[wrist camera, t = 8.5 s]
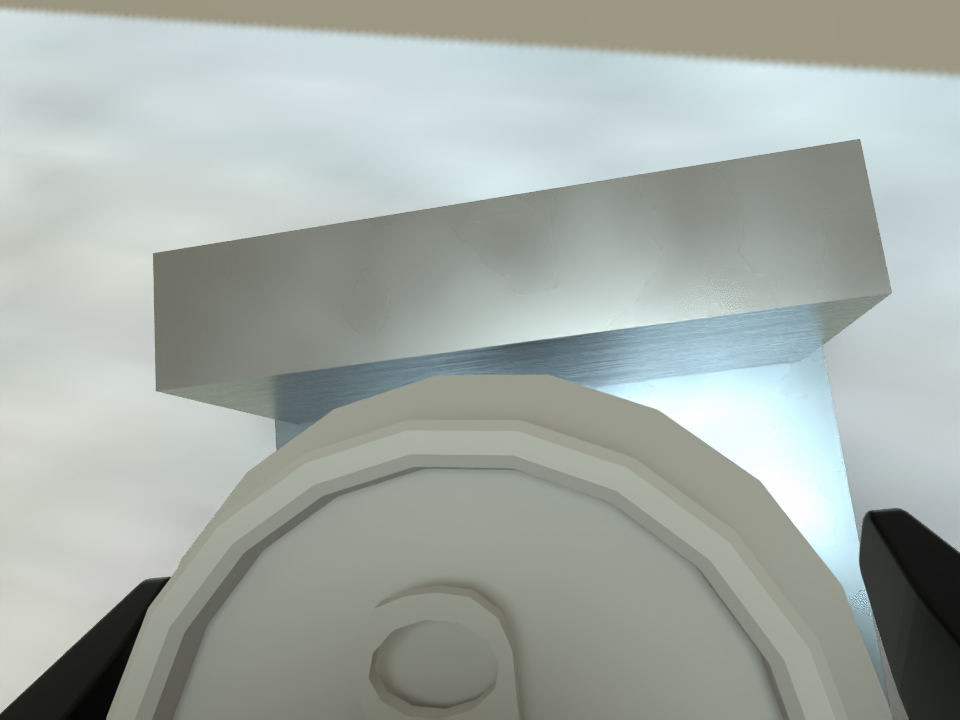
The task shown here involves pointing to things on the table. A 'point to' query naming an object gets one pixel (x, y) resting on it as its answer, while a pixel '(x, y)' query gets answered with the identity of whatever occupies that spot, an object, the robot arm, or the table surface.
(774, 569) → the can
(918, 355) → the table surface
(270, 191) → the table surface
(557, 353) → the vise
